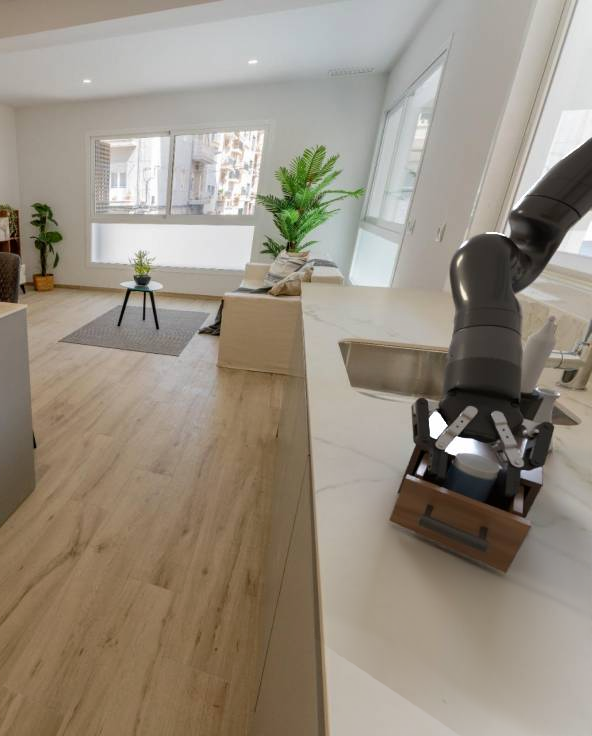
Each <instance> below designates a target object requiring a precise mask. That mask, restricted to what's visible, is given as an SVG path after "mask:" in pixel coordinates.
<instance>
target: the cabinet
mask: <svg viewBox="0 0 592 736" xmlns="http://www.w3.org/2000/svg"><path fill="white" fill-rule="evenodd" d="M429 422H430V436H431V437H433V438H435V439H437V437H438V436H439V434H440V433H441V432H442V431H443V430H444V428H445V427H446V426H447V425H446V423H445V422H444V420H443V419H442V417H441V416H440V415H439V413H438V412H436V411H434V414H433V415H432V416H431V417H429ZM513 437H514V439H515V441H516V442H517V450H518V452H519V454H520V456H521V458H522V456H523V453H524V449H525V446H526V442H527V439H525V438H522V437H518V436H515V435H513ZM426 452H429V451H428V449H426V448H425V447H423V446H421V445H416V444H415V445H414V447H413V450H412V452H411V455H410V458H409V461H408V464H407V466H406V468H405V472H404V475H403V477H402V479H401V482H400V485H399V487H398V490H397V494H399V493H400V491H401V488H402V486H403V483H404V480H405V478H406V476H407V474H408V475H411V476H413V477H414V476H415V474H416V472H417V469H418V467H419V465H420V463H421V461H422V459H423V457H424V455H425V453H426ZM445 452H448V458H447V459H450V460H454V458H455V455H456V454H457V453H471V454H475V455H479V456H481V457H484V458H486V459H488V460H490V461H492V462H494V463H495V464H496V465H498V467H499V469H502V467H501V465H500V463H499V461H498V459H497V457H496V455H495V454H494V453H493V452H492V451H491V449H490V447H489V445H488V444H487V443H483V442H479V441H477V440H474V439H464V438H460V437H456V438H455V439H454V440H453V441H452V442H451V443H450V445H449V446H448V447H447V448H446V450H445ZM543 469H544V466H542V467H539V468H535V469H533V470H530V471H526V470H521V476H520V484H523V485H524V498H523V514H522V516H521V517H522V518H524V519H527V516H528V515H529V512H530V510H531V509H532V506H533V504H534V502H535V501H536V499H537V497H538V495H539V493H540V491H541V489H542V487H543V486H544V475H543V473H544V472H543ZM497 476H498V474H497Z"/></svg>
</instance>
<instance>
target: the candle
mask: <svg viewBox="0 0 592 736" xmlns="http://www.w3.org/2000/svg"><path fill="white" fill-rule="evenodd" d="M556 320H557V317H556V316H555V315H550V316H548V317H547V321H546V322H545V323H543V325H542V326H541V327H540V328H539V329H538V330H537V331H535V332H533V333H531V334H530V335H529V336H528V337H527V339H526V342H525V344H524V346H523V347H522V348H523V363H522V379H521V395H520V404H519V410H520V412H521V414H522V415H523V418H524V419H527V420H531V421H533V420H534V418H535V416H536V414H537V412H538V409H539V407H540V405H541V403H542V401H543V399H544V397H543V396H541V395H540V393H539V392H538V391H536V386H537V384H538V382H539V380H540V377H541V375H542V373H543V371H544V369H545V367H546V365H547V362H548V361H549V358H550V356H551V354H552V353H553V351H554V350H553V349H554V348H555V346H556V344H557V338H556V336H555V333H554V329H555V321H556ZM511 433H512V435H515V436H518V437H522V438H525V437H524V435H523V430H522V429H521V428H520V427H517V428H516V429H514V430H513V431H512V432H511Z"/></svg>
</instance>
